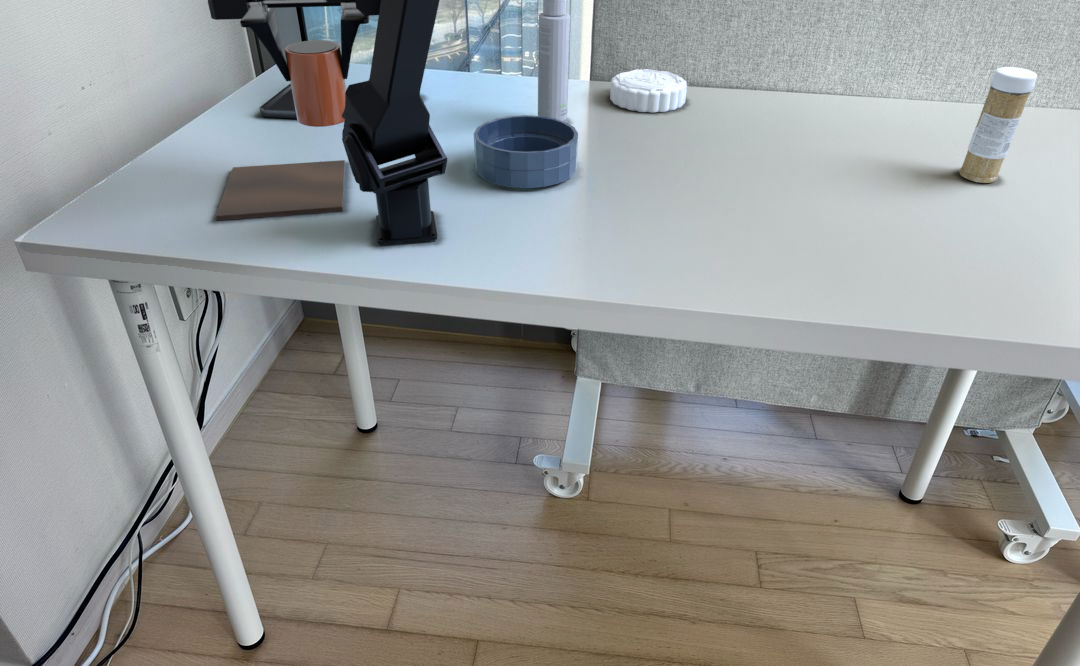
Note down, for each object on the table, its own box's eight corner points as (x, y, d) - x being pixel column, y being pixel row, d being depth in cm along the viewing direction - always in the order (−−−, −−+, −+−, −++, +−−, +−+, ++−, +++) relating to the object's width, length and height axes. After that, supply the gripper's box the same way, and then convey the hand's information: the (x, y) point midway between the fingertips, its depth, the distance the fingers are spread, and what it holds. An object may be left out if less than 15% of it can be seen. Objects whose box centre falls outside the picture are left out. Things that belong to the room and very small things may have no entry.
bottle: (560, 128, 109) (564, -20, 98) (533, 124, 111) (533, -23, 99) (571, 119, 113) (576, -26, 101) (544, 115, 114) (546, -29, 103)
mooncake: (697, 97, 121) (700, 75, 119) (664, 118, 113) (666, 95, 111) (632, 84, 127) (633, 62, 125) (596, 103, 119) (597, 80, 117)
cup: (348, 125, 86) (338, 53, 81) (294, 128, 85) (281, 55, 80) (350, 108, 91) (341, 38, 86) (299, 110, 90) (287, 40, 85)
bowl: (586, 187, 93) (588, 149, 90) (482, 195, 91) (481, 156, 88) (564, 148, 103) (565, 112, 100) (470, 154, 101) (468, 118, 98)
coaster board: (343, 211, 87) (342, 206, 87) (216, 220, 85) (215, 216, 85) (345, 164, 98) (344, 159, 98) (233, 171, 96) (232, 167, 96)
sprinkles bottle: (972, 167, 99) (1010, 63, 91) (1004, 180, 96) (1047, 73, 88) (950, 174, 97) (987, 68, 89) (982, 187, 94) (1023, 79, 86)
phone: (256, 109, 112) (295, 78, 124) (258, 116, 112) (297, 85, 124) (307, 112, 111) (341, 81, 123) (309, 119, 111) (342, 88, 124)
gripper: (385, -87, 84) (399, 56, 93) (211, -86, 81) (242, 62, 90) (385, -73, 75) (401, 84, 84) (189, -71, 72) (227, 91, 81)
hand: (317, 79), depth 85 cm, fingers closed on cup, 6 cm apart
